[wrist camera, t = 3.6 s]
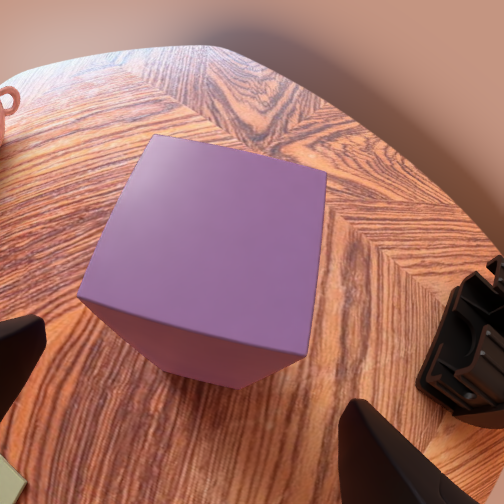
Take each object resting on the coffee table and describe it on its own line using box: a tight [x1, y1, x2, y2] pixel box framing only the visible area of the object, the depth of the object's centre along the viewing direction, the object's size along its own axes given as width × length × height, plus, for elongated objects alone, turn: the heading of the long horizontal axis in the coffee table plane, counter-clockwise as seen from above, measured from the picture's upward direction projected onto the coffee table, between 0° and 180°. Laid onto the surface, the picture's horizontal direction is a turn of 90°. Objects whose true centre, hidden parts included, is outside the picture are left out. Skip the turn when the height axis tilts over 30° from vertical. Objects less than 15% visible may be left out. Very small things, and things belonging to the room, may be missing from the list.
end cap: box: [415, 255, 504, 429], centre depth 16 cm, size 10×7×7 cm
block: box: [77, 134, 327, 390], centre depth 12 cm, size 4×4×13 cm
